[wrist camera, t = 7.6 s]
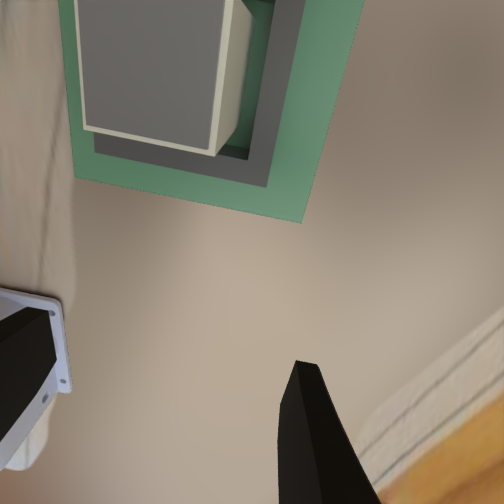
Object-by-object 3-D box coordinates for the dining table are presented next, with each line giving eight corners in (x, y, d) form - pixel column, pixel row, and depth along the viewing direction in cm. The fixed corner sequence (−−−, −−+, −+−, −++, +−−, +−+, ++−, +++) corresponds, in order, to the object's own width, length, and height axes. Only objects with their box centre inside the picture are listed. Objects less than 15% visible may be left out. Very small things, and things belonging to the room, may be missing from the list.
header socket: (300, 218, 18) (303, 243, 15) (81, 173, 18) (48, 191, 15) (385, -84, 12) (410, -121, 9) (53, -155, 12) (-8, -212, 9)
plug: (239, 124, 15) (213, 157, 10) (153, 106, 15) (79, 130, 10) (256, 10, 13) (235, -26, 8) (156, -11, 13) (64, -63, 8)
